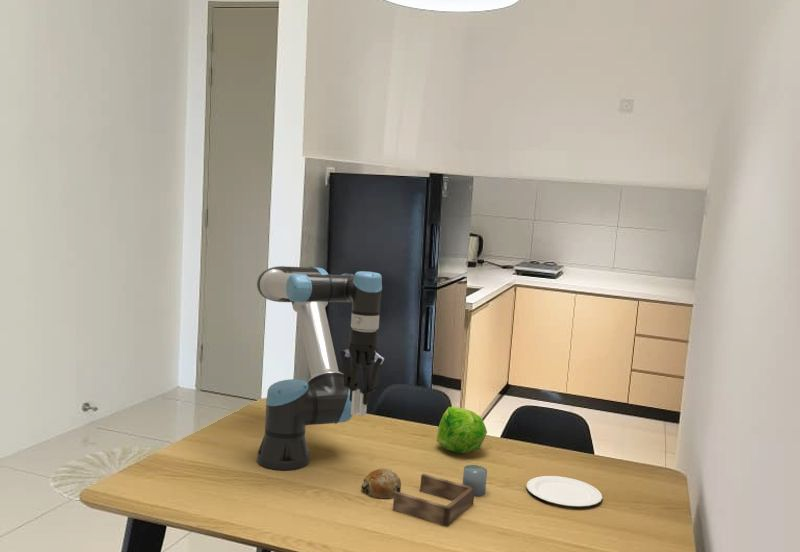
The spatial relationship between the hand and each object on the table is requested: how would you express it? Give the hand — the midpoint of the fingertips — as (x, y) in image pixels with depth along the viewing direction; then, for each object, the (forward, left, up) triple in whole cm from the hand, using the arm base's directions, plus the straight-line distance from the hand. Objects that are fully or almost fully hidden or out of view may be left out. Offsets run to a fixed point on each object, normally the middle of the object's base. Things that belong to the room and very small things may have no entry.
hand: (358, 414), depth 195 cm
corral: (+24, 0, -19) cm, 31 cm away
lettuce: (+12, +45, -20) cm, 51 cm away
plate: (+50, +31, -20) cm, 62 cm away
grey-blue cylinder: (+29, +16, -20) cm, 38 cm away
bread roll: (+9, 0, -20) cm, 22 cm away
